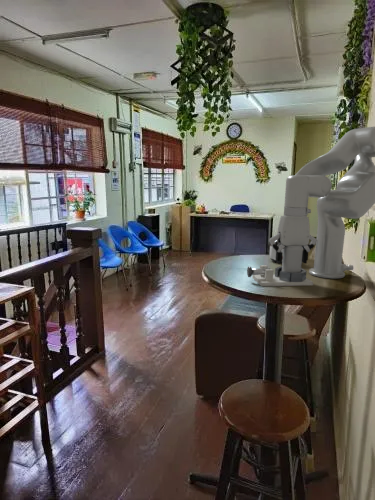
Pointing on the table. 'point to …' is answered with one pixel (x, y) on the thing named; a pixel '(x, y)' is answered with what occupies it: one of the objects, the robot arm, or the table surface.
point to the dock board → (276, 279)
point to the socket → (290, 275)
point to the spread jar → (274, 253)
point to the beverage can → (292, 259)
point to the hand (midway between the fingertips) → (291, 262)
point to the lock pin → (255, 271)
